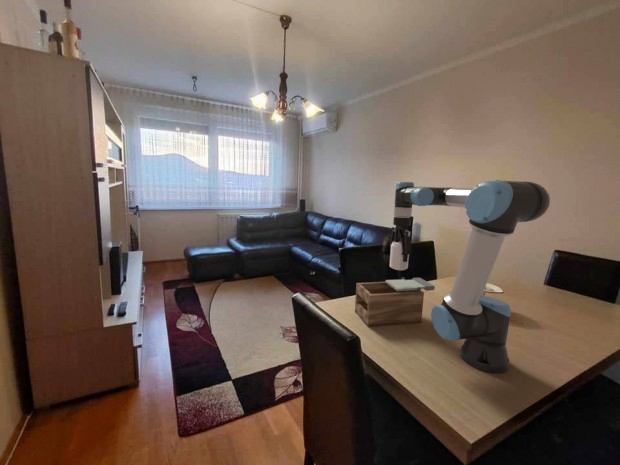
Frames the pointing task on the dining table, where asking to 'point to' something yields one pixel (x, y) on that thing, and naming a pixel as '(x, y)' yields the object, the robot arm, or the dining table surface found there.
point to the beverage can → (396, 255)
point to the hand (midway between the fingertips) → (398, 265)
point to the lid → (410, 284)
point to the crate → (387, 304)
